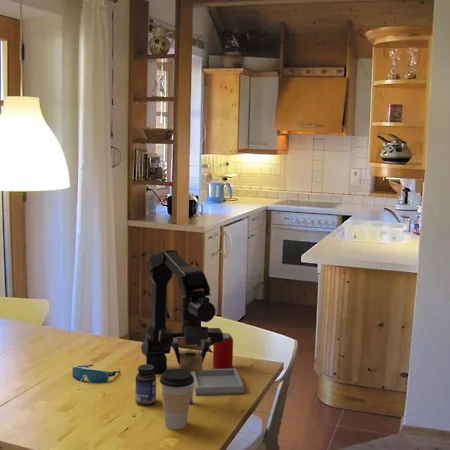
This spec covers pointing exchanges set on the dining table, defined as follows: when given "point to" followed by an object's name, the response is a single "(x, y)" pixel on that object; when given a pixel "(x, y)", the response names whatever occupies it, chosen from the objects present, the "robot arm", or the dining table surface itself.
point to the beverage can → (223, 353)
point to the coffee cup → (176, 397)
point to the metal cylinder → (191, 396)
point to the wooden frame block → (190, 360)
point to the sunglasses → (91, 374)
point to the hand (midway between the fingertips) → (190, 363)
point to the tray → (217, 382)
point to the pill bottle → (145, 385)
